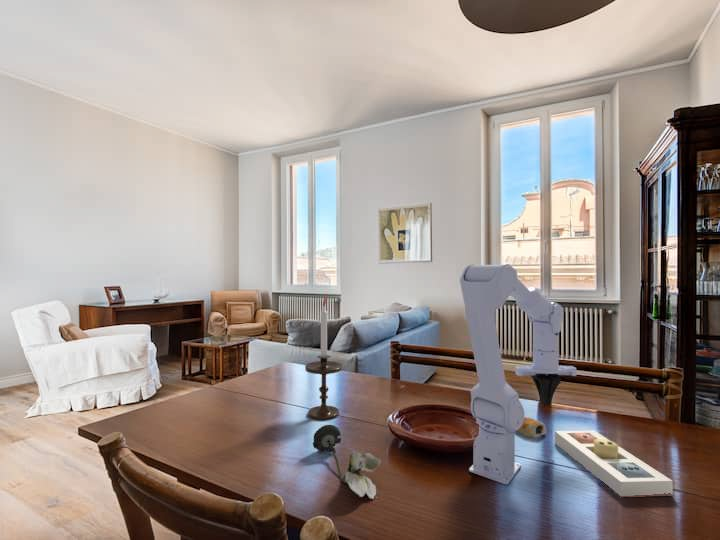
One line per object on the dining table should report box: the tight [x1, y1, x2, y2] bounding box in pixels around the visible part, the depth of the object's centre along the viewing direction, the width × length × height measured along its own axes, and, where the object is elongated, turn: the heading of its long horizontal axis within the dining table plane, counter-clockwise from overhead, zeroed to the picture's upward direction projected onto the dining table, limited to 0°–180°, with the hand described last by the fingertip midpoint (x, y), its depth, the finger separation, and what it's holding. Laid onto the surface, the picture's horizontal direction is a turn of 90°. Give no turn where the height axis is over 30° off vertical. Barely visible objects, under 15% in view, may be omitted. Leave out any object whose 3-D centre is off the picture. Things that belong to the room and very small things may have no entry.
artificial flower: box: [312, 424, 382, 500], centre depth 78 cm, size 9×22×10 cm, turn 21°
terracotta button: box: [574, 433, 596, 444], centre depth 87 cm, size 4×4×3 cm
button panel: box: [554, 430, 674, 496], centre depth 80 cm, size 22×10×3 cm, turn 2°
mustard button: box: [594, 439, 619, 459], centre depth 80 cm, size 4×4×3 cm
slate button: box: [617, 463, 645, 478], centre depth 73 cm, size 4×4×3 cm
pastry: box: [515, 416, 547, 439], centre depth 99 cm, size 9×7×4 cm
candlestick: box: [305, 296, 343, 421], centre depth 110 cm, size 11×11×35 cm
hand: (545, 404), depth 92 cm, fingers closed
